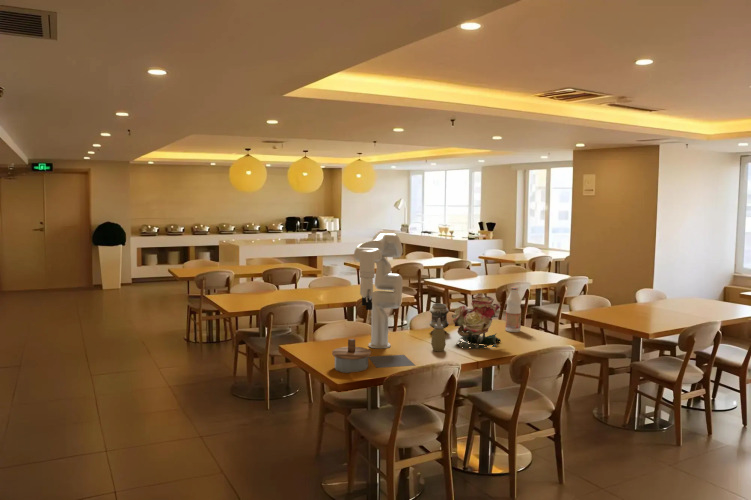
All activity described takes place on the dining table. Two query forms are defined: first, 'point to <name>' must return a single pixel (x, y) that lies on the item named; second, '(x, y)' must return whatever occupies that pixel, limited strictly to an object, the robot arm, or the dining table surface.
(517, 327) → the fruit juice
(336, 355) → the walnut lid
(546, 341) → the dining table surface
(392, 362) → the gray square mat
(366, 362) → the slate bowl
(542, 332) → the dining table surface
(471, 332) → the rose bouquet
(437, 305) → the apothecary jar
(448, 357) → the dining table surface
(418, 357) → the dining table surface
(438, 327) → the squeeze bottle
